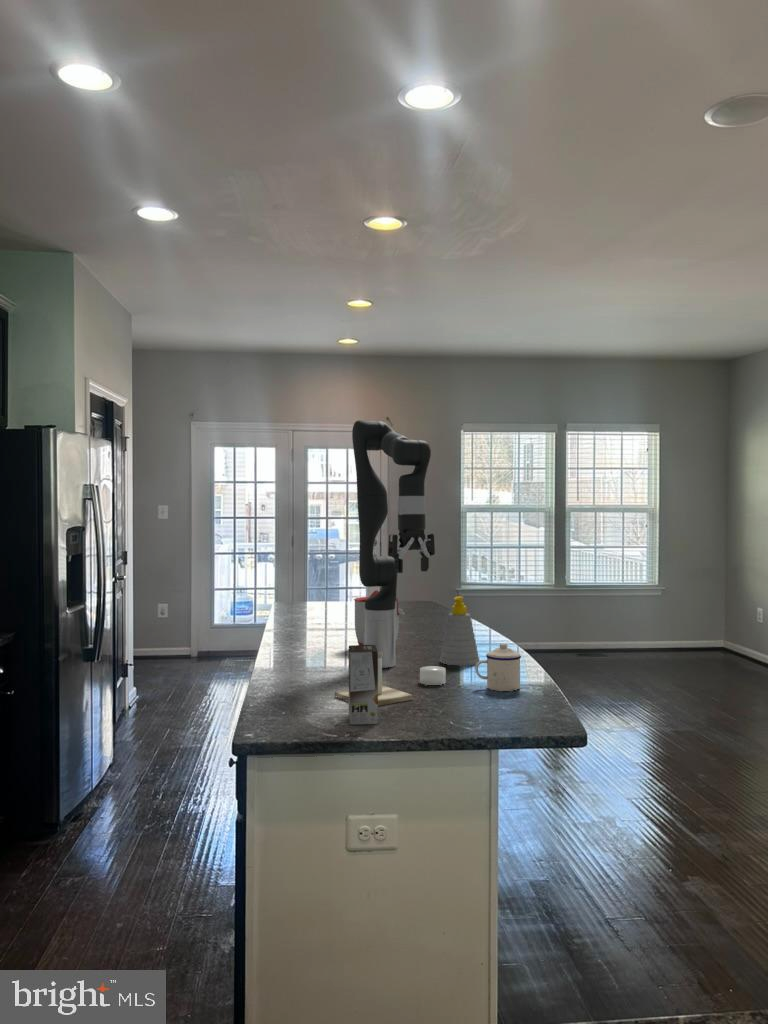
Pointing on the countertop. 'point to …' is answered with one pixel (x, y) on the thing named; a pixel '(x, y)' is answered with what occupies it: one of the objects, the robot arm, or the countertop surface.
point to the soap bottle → (459, 638)
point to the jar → (380, 673)
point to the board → (382, 696)
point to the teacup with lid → (502, 669)
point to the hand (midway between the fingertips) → (411, 572)
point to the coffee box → (363, 684)
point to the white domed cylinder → (432, 675)
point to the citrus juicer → (361, 617)
